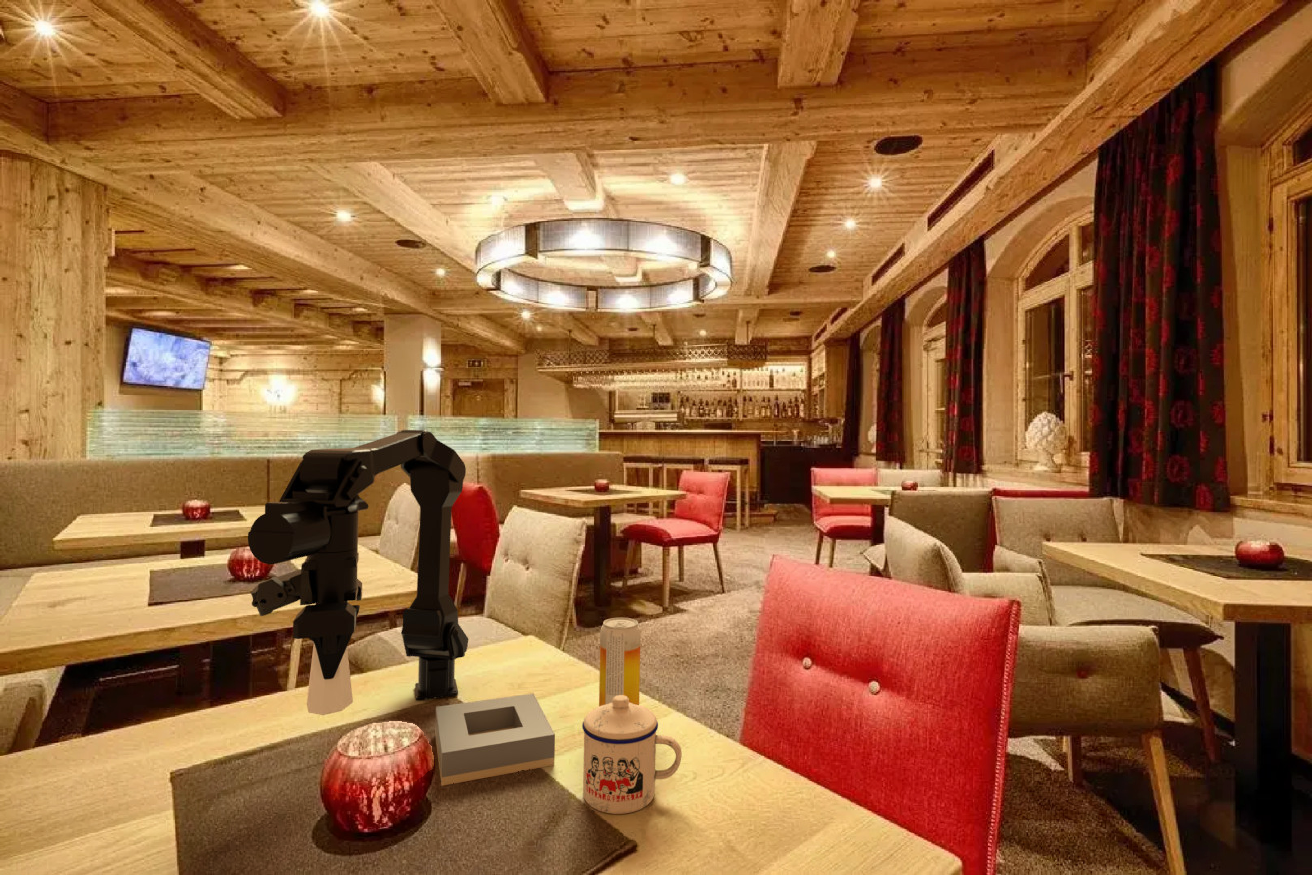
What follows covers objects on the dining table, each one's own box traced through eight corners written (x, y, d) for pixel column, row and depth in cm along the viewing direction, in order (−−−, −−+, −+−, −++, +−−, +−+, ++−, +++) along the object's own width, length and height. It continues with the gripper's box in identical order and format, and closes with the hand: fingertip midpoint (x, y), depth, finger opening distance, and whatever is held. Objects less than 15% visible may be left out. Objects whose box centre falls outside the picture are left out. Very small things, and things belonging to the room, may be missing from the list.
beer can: (641, 713, 97) (642, 617, 98) (636, 732, 91) (638, 629, 91) (602, 711, 98) (604, 615, 98) (595, 729, 92) (597, 627, 92)
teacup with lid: (572, 813, 71) (574, 711, 71) (590, 771, 80) (592, 680, 81) (677, 822, 70) (679, 718, 70) (683, 778, 79) (685, 686, 79)
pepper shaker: (320, 720, 76) (320, 632, 75) (296, 705, 79) (296, 621, 78) (362, 702, 80) (363, 619, 79) (338, 689, 83) (339, 609, 82)
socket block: (435, 734, 89) (435, 706, 89) (533, 719, 95) (533, 693, 95) (441, 785, 77) (442, 752, 77) (554, 764, 82) (554, 734, 82)
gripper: (272, 540, 85) (270, 655, 85) (240, 567, 67) (237, 712, 67) (363, 536, 89) (361, 646, 89) (355, 561, 72) (352, 698, 72)
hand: (330, 672), depth 79 cm, fingers closed on pepper shaker, 4 cm apart
